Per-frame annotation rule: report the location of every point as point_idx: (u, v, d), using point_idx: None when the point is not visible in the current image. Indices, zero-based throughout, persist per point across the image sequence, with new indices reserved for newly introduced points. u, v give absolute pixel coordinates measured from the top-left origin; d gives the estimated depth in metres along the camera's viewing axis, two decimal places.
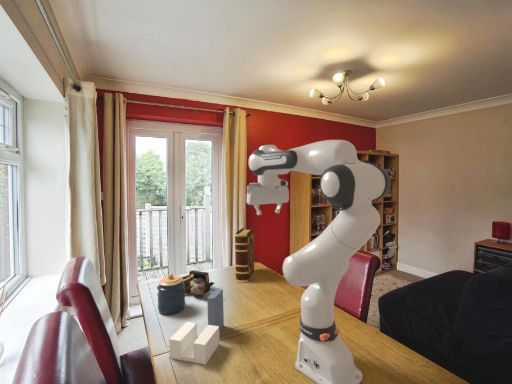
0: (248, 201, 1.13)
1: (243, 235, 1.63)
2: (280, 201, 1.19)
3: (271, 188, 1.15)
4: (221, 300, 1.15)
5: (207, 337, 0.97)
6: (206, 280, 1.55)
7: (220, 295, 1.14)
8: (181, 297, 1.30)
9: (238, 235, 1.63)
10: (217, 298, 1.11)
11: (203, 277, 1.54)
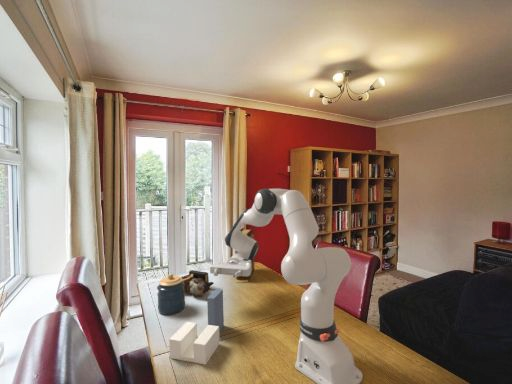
0: None
1: None
2: (239, 268, 1.26)
3: (232, 260, 1.33)
4: (221, 300, 1.15)
5: (207, 337, 0.97)
6: (206, 280, 1.55)
7: (220, 295, 1.14)
8: (181, 297, 1.30)
9: None
10: (217, 298, 1.11)
11: (203, 277, 1.55)
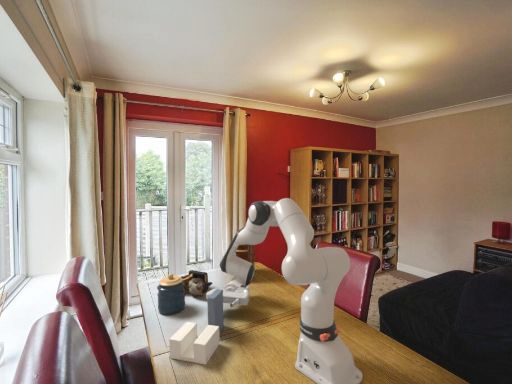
0: None
1: None
2: (236, 296, 1.22)
3: (230, 287, 1.29)
4: (221, 300, 1.15)
5: (207, 337, 0.97)
6: (205, 280, 1.55)
7: (220, 295, 1.14)
8: (181, 297, 1.30)
9: None
10: (217, 298, 1.11)
11: (202, 277, 1.55)
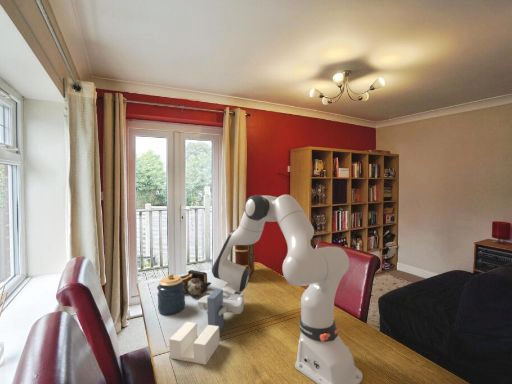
0: None
1: None
2: (229, 304, 1.14)
3: (223, 294, 1.21)
4: (221, 300, 1.15)
5: (207, 337, 0.97)
6: (204, 280, 1.55)
7: (220, 295, 1.14)
8: (181, 297, 1.30)
9: None
10: (217, 298, 1.11)
11: (201, 277, 1.55)
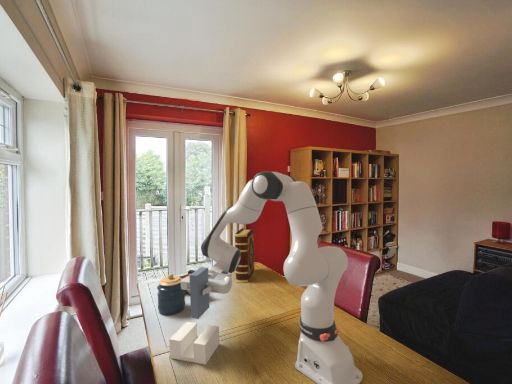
0: None
1: (243, 235, 1.63)
2: (215, 283, 1.04)
3: (209, 273, 1.11)
4: (206, 279, 1.05)
5: (207, 337, 0.97)
6: None
7: (204, 273, 1.03)
8: (181, 297, 1.30)
9: (238, 235, 1.63)
10: (201, 276, 1.01)
11: None
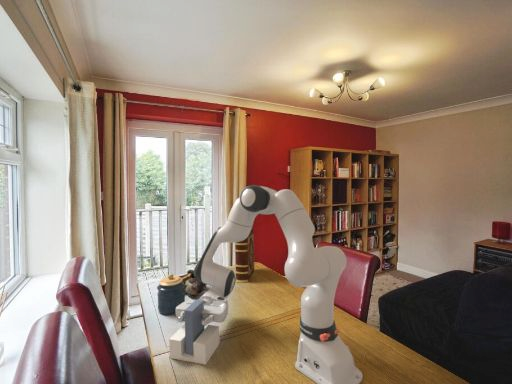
0: None
1: None
2: (211, 311, 1.01)
3: (205, 299, 1.08)
4: None
5: (207, 337, 0.97)
6: None
7: (200, 307, 1.01)
8: (181, 297, 1.30)
9: None
10: (196, 310, 0.98)
11: None
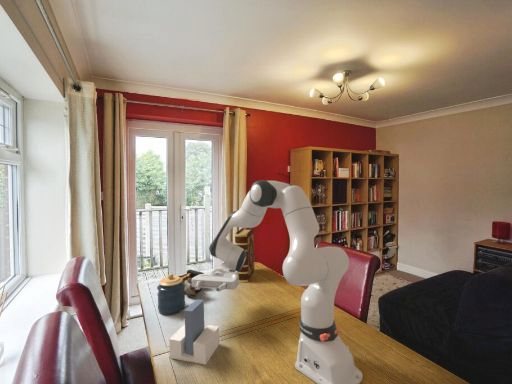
0: None
1: (243, 235, 1.63)
2: (224, 280, 1.13)
3: (217, 272, 1.20)
4: (201, 312, 1.02)
5: (207, 337, 0.97)
6: None
7: (200, 307, 1.01)
8: (181, 297, 1.30)
9: (238, 235, 1.63)
10: (196, 310, 0.98)
11: None
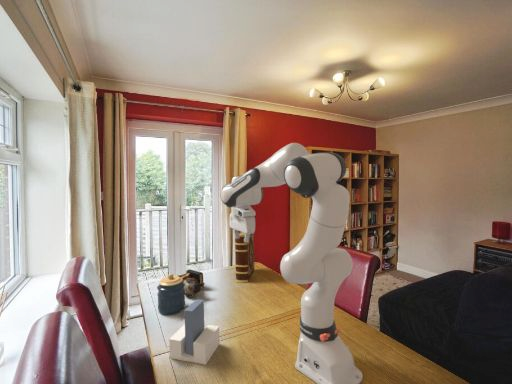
0: None
1: (243, 235, 1.63)
2: (242, 231, 1.19)
3: (234, 216, 1.23)
4: (201, 312, 1.02)
5: (207, 337, 0.97)
6: (200, 280, 1.55)
7: (200, 307, 1.01)
8: (181, 297, 1.30)
9: None
10: (196, 310, 0.98)
11: (197, 277, 1.55)
